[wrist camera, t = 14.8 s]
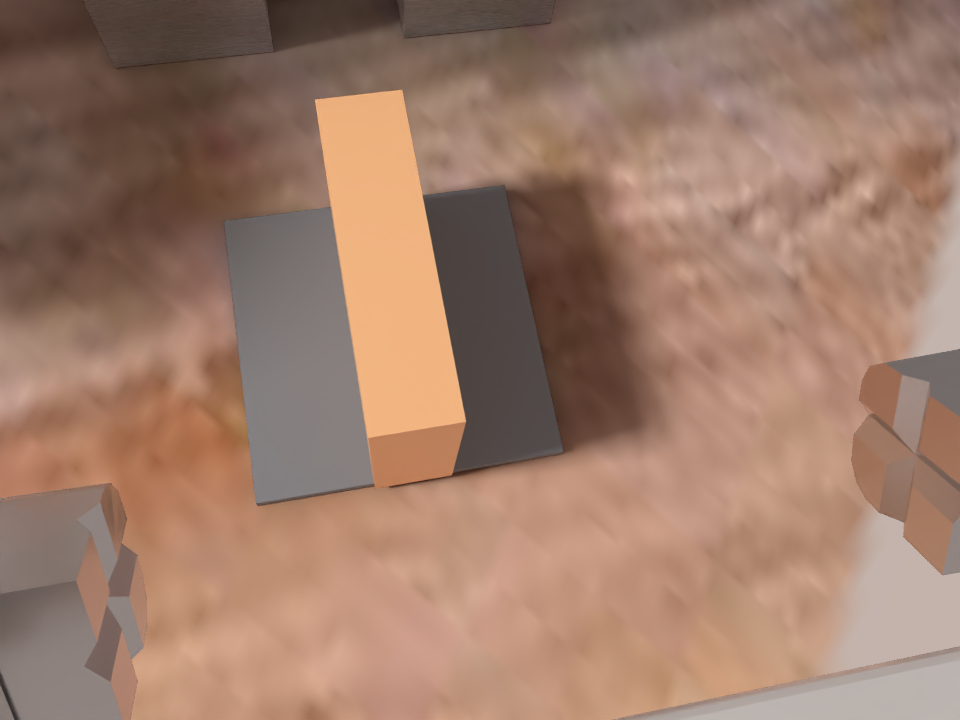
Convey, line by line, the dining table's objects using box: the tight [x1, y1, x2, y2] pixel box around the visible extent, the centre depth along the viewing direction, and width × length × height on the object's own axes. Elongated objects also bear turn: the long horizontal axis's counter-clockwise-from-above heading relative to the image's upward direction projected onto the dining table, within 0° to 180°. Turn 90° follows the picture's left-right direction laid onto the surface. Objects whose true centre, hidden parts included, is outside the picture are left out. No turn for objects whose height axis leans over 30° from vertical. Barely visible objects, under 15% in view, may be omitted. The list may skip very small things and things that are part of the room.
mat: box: [224, 185, 563, 506], centre depth 37 cm, size 12×12×1 cm
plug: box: [315, 90, 466, 489], centre depth 33 cm, size 12×3×8 cm, turn 11°
